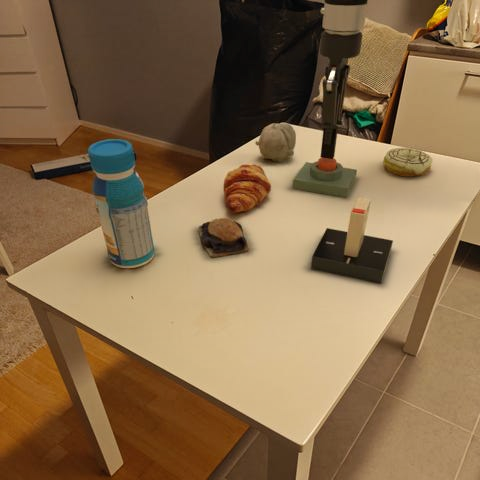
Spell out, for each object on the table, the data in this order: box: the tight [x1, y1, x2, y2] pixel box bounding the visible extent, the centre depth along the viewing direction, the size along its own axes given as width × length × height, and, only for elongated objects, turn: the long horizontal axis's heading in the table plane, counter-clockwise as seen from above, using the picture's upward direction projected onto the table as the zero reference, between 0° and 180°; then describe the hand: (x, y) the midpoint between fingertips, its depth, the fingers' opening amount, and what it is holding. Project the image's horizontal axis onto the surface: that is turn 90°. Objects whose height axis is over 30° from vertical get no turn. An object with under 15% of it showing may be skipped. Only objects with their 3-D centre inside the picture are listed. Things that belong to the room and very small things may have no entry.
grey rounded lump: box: [254, 122, 297, 163], centre depth 111 cm, size 9×8×10 cm
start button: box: [317, 157, 338, 171], centre depth 101 cm, size 4×4×2 cm
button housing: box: [292, 160, 358, 198], centre depth 103 cm, size 12×10×4 cm
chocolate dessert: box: [198, 217, 250, 258], centre depth 86 cm, size 11×8×4 cm
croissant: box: [222, 163, 272, 214], centre depth 98 cm, size 21×10×8 cm, turn 166°
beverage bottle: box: [87, 138, 156, 269], centre depth 76 cm, size 8×8×20 cm
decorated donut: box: [383, 147, 433, 177], centre depth 108 cm, size 10×11×4 cm
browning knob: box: [344, 197, 372, 257], centre depth 77 cm, size 6×2×8 cm, turn 158°
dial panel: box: [310, 227, 394, 284], centre depth 80 cm, size 12×10×3 cm
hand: (327, 156), depth 100 cm, fingers closed
